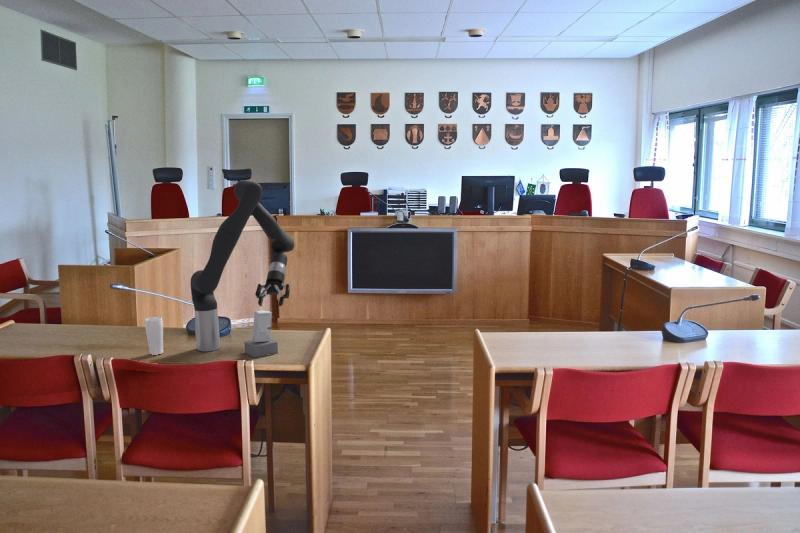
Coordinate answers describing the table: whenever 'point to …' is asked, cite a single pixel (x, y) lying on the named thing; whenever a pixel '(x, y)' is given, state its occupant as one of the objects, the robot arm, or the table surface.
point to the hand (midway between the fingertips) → (270, 305)
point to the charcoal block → (260, 348)
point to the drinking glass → (154, 334)
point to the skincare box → (262, 326)
